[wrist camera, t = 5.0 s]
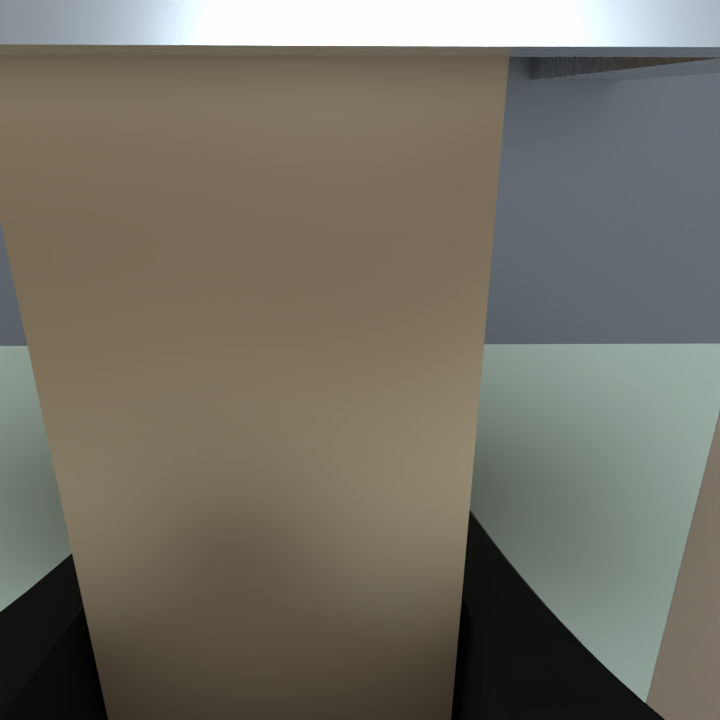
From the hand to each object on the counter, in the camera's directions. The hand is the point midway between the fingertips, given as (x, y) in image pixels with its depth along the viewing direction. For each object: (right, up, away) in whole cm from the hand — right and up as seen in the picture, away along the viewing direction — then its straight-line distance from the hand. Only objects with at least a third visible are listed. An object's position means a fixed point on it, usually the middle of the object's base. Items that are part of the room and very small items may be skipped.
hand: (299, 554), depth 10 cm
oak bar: (0, +6, -1) cm, 6 cm away
